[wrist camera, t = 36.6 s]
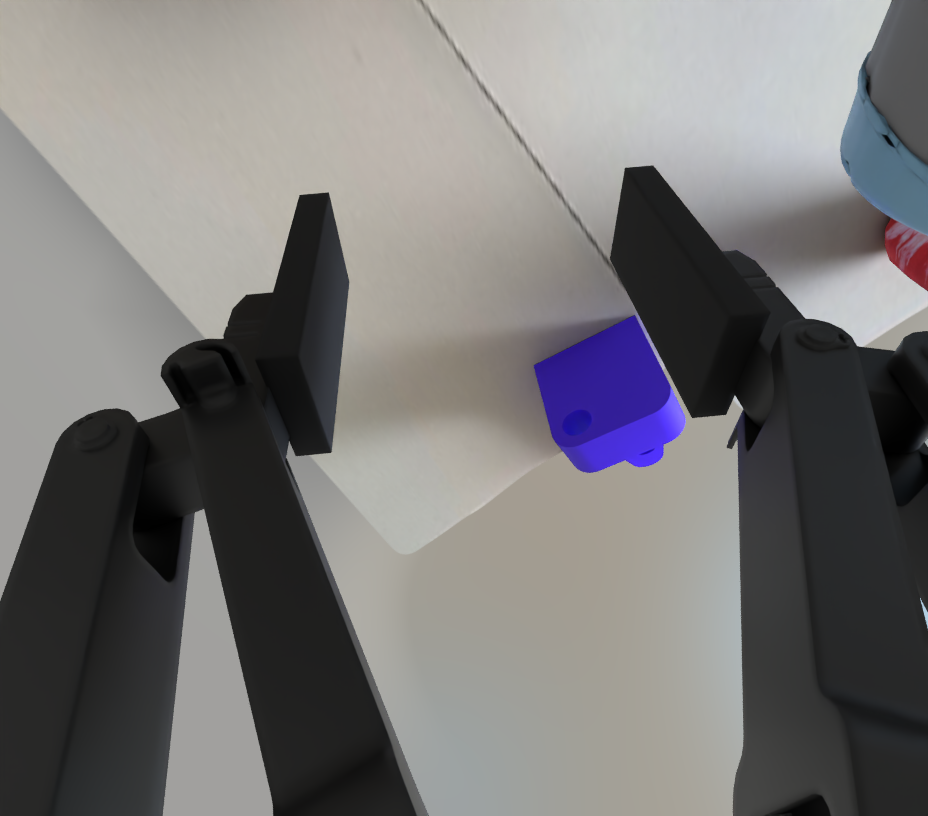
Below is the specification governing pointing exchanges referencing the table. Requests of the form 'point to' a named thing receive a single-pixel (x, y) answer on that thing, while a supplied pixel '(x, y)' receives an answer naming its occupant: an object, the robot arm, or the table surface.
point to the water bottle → (908, 251)
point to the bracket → (609, 400)
